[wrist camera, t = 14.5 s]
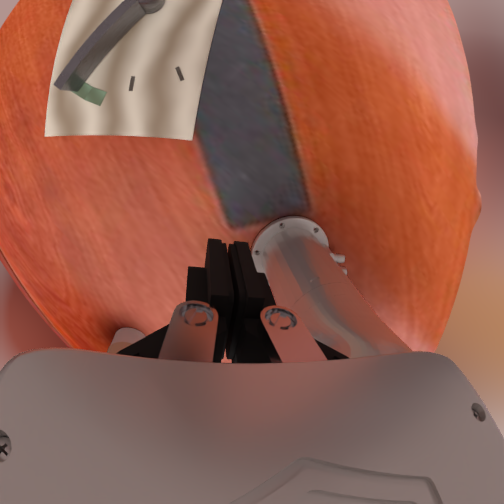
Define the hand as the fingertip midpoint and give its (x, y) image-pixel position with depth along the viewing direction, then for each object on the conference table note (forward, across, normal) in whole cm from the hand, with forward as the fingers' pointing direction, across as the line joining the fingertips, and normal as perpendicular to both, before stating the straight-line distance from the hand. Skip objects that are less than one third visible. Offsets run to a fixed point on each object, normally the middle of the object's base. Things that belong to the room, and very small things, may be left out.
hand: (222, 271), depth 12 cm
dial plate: (+27, +14, -14) cm, 34 cm away
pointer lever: (+25, +16, -17) cm, 34 cm away
